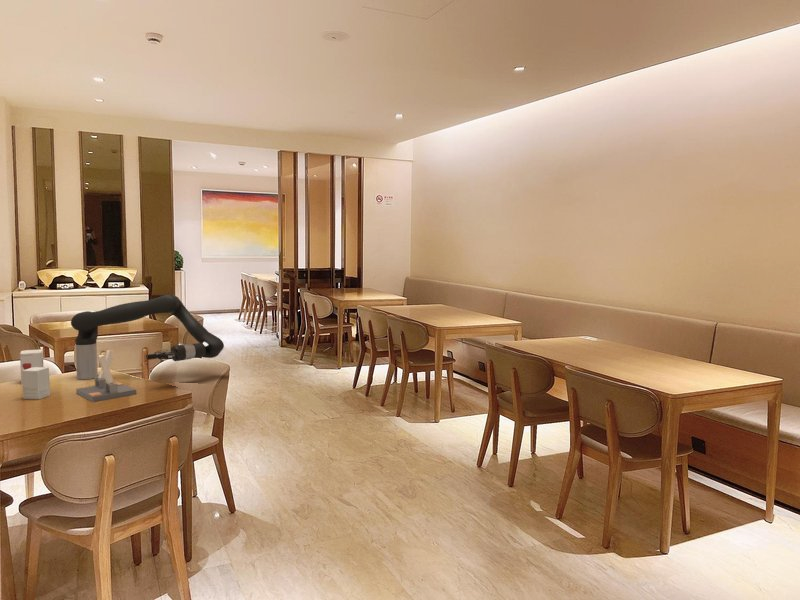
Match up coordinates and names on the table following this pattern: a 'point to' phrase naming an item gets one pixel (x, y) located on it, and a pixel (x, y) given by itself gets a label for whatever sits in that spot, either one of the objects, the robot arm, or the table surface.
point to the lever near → (105, 369)
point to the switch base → (105, 391)
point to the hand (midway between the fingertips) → (147, 357)
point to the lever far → (108, 358)
